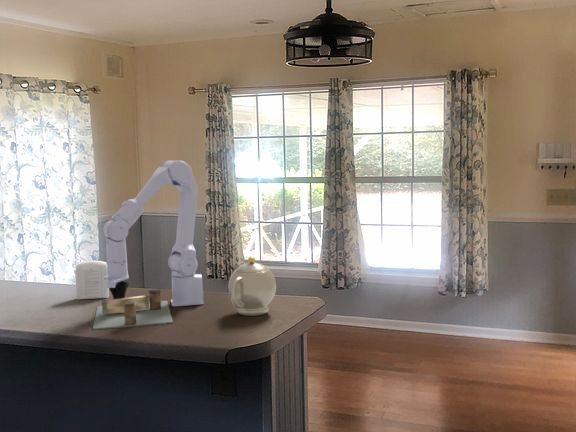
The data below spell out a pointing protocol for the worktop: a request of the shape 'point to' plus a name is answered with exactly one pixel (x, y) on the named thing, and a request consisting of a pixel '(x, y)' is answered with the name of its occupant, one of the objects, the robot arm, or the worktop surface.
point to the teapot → (252, 288)
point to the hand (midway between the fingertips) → (119, 307)
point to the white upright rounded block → (91, 280)
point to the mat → (142, 317)
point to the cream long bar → (118, 304)
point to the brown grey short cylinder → (155, 299)
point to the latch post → (130, 313)
